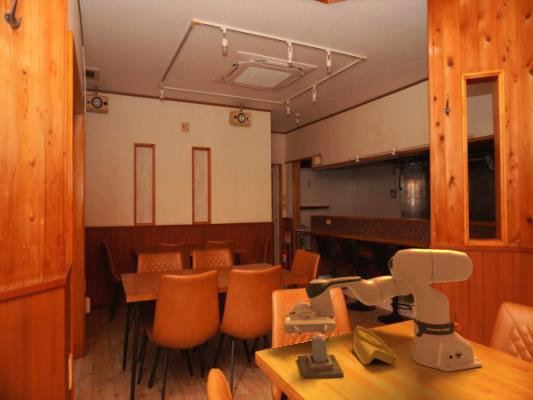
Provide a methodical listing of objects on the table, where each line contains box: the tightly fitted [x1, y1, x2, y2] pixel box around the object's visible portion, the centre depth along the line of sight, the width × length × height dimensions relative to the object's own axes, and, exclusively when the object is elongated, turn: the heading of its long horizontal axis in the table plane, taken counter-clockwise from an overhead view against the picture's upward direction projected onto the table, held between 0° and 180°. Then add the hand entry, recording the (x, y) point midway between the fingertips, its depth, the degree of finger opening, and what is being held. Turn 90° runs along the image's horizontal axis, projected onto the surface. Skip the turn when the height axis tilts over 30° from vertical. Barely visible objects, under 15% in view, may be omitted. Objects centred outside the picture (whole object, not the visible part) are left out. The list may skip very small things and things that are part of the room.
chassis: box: [297, 352, 345, 379], centre depth 124 cm, size 13×14×3 cm
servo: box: [311, 333, 327, 363], centre depth 124 cm, size 4×5×10 cm
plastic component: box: [352, 325, 397, 366], centre depth 134 cm, size 20×7×10 cm
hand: (312, 332), depth 136 cm, fingers open, 8 cm apart
